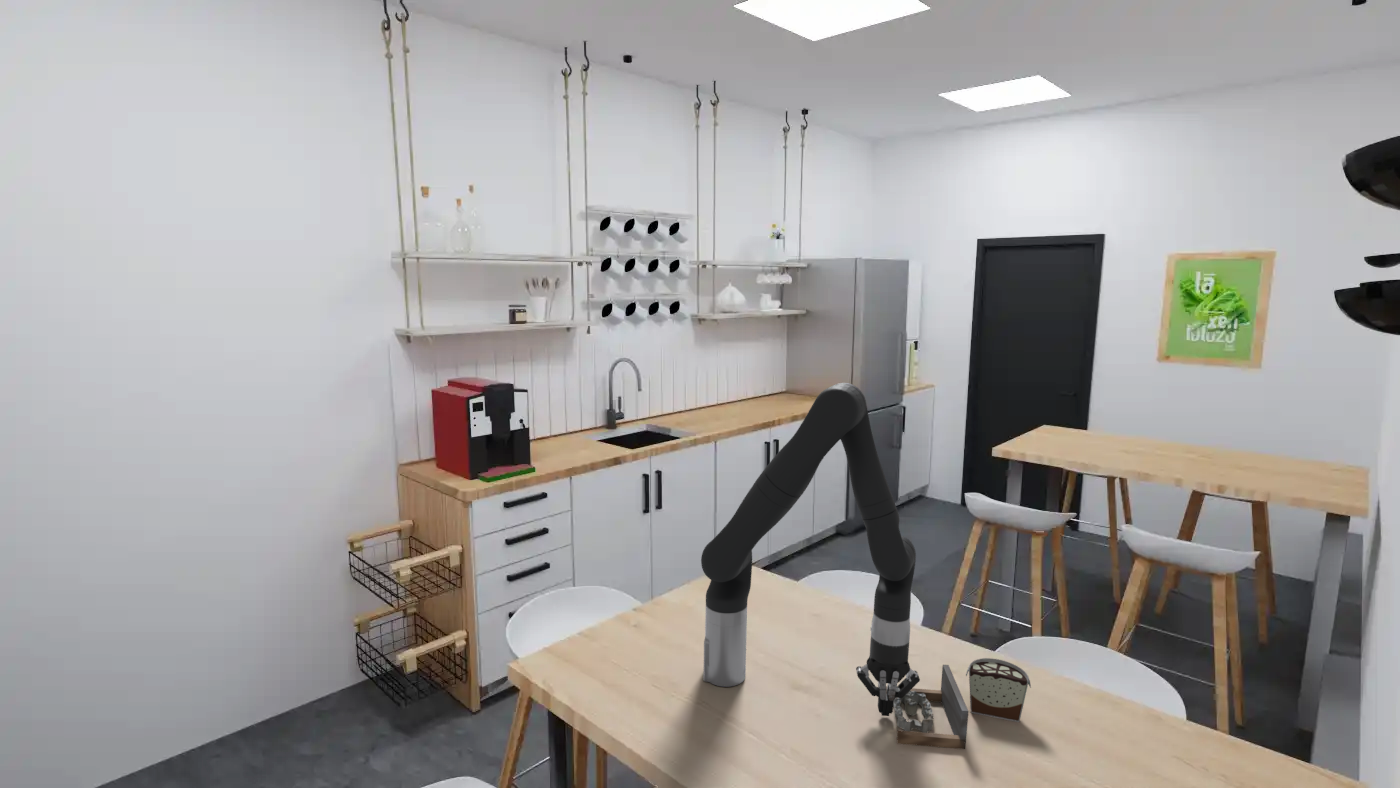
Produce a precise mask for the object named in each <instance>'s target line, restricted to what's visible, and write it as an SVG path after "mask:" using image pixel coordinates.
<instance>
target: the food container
mask: <svg viewBox="0 0 1400 788" xmlns="http://www.w3.org/2000/svg"><path fill="white" fill-rule="evenodd" d="M967 676H969V677H968V678H969V679H968V681H969V704H970V706H969V709H970V710H969V711H970V713H971V714H975V715H981V716H987V717H991V718H995V719H996V718H997V719H1000V720H1005V721H1010V722H1016V723H1020V721H1021V717H1022V713H1023V709H1024V704H1025V699H1026V695H1027V690H1028V687H1029V689H1031V688H1032V687H1031V680H1030V678H1029V675H1028V673H1027V672H1026V671H1025V670H1024V669H1022V668H1021V667H1020V666H1018V665H1016V664H1014V663H1012V662H1010V661H1006V660H1003V659H998V658H993V657H991V658H990V657H983V658H977V659H975V660H972V662H971V663H970V664H969V665H968V667H967V669H966V673H965V677H967Z"/></svg>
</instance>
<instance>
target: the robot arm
mask: <svg viewBox="0 0 1400 788" xmlns="http://www.w3.org/2000/svg"><path fill="white" fill-rule="evenodd" d="M868 411H869V410H868V406H867V400H866V397H865V395H864V393H863V391H862V390H860V388H859V387H858V386H856V385H854V384H852V383H848V382H839V383H836V384H833V385H831V386H829V387H827V388H825V389H823V390H822V391H821V392H820V393H819V394H818V395H817V396H816V398H815V400H814V401H813V403H812V405H811V407H810V409H809V410H808V412H807V414H806V416H805V417H804V419H803V420H802V422H801V424H800V425H799V427H798V429H797V430H796V431H795V433H794V435H793V436H792V437H791V438H790V439H789V440H788V442H786V444H785V445H783V447H782V448H780V450H779V451H778V452H777V453H776V454H775V455H774V457H773V458H772V459H771V461H769V463H768V464H767V465H766V466H765V468H764V469H763V471H761V473H760V474H759V476H758V477H757V479H755V481H754V483H753V485H752V486H751V487H750V488H749V490H748V492H747V493H746V495H745V497H744V498H743V500H741V503H740V505H738V508H737V510H736V511H735V512H734V513H733V515H732V517H731V518H730V520H729V521H728V522H727V524H726V525H724V527H723V528H722V529H721V530H720V531H719V532H718V534H716V536H715V537H713V539H712V540H710V542H708V543H707V544H706V545H705V547H704V548H703V551H702V553H701V557H700V558H701V560H700V562H701V563H700V564H701V565H700V566H701V569H702V571H703V573H704V575H705V576H706V577H707V578H708V579H710V582H709V585H708V587H707V590H706V593H705V627H704V628H705V629H704V630H705V632H704V633H705V634H704V641H703V678H702V679H703V682H708V683H709V684H712V685H715V686H718V687H727V688H728V687H734V686H738V685H740V684H741V683H743V682H744V681H745V679H746V670H747V666H746V665H747V630H748V627H747V626H748V598H749V594H750V591H751V586H752V575H753V574H752V573H753V572H752V571H753V570H752V569H753V549H754V547H756V545H757V544H758V542H760V541H761V539H762V538H763V537H764V536H765V535H767V533H769V532H770V531H771V530H772V529H773V528H774V527H775V526H776V525H777V524H778V523H779V522H781V520H782V519H783V518H784V517H785V516H786V515H787V514H788V512H789V511H790V510H791V509H792V508H793V507H794V506H795V505H796V503H797V501H798V500H799V499H800V498H801V497H802V495H804V493H805V491H806V489H807V488H808V487H809V485H810V483H811V482H812V480H813V478H814V476H815V474H816V472H817V470H818V468H819V465H821V462H822V461H823V459H824V458H825V457H826V455H827V454H828V453H829V452H830V451H831V450H832V448H833V447H835V445H836V444H837V443H838V442H841V443H842V447H843V449H844V451H845V452H844V453H845V456H846V459H847V465H848V470H849V478H850V483H851V489H852V492H853V496H854V499H855V501H856V506H857V509H858V510H859V515H860V516H861V517H860V518H861V519H862V522H863V524H864V526H865V531H866V536H867V541H868V546H869V551H870V555H871V559H872V563H873V566H874V567H875V569H876V571H877V573H878V575H879V578H878V583H877V585H876V587H875V592H874V601H873V614H872V615H873V616H872V620H871V626H870V645H869V656H868V658H867V659H866V664H864V665H863V666H860V665H859V666H856V667H855V670H856V675H857V678H858V679H859V680H860V682H861V683H862V684H863V686H864V687H865V688H866V690H867V691H868V692H869V693H870V695H871V696H873V697H877V709H878V712H879V714H880V713H881V716H883V717H890V714H893V712H894V707H893V701H894V699H895V698H903V697H904V696H905V695H906V694H907V693H908V692H909V691H910V690H911V689H912V688H914V687H915V686H916V685H918V683H919V682H920V680H921V679H920V676H919V673H918V671H917V670H913V669H912V668H911V666H910V663H909V653H910V652H909V651H910V636H911V620H910V619H911V618H910V617H911V604H912V603H911V600H912V597H911V596H912V595H911V593H912V585H913V580H914V575H915V568H916V561H917V560H916V559H917V553H916V549H915V546H914V544H913V543H912V541H911V540H910V539H909V538H907V537H906V536H904V535H902V534H901V531H900V513H899V511H898V507H897V505H896V503H895V500H894V496H893V494H892V492H891V488H890V487H889V483H888V481H887V478H886V476H885V473H884V470H883V467H882V464H881V461H880V457H879V454H878V452H877V448H876V445H875V441H874V440H875V439H874V436H873V433H872V432H873V431H872V426H871V422H870V418H869V417H870V415H869V412H868ZM869 672H870V673H871V675H872V676H873V678H874V679H875V681H876V682H877V684H878V685H877V686H876V685H875V684H874V682H873V680H872V678H870V674H869ZM898 683H899V684H898ZM886 686H887V694H886Z"/></svg>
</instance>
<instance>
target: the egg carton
mask: <svg viewBox="0 0 1400 788" xmlns="http://www.w3.org/2000/svg"><path fill="white" fill-rule="evenodd" d="M901 703H903V704H904V705H905V706H904V711H903V707H901ZM918 705H920V706H921V715H923V716H924V719H922V721H919V720H918V719H915V718H909V719H907V718H905V717H904V712H905V713H906V714H907V716H908V715H909V716H916V715H917V711H918V710H917V709H918ZM893 710H894V716H895V718H897V721H896V722H897V724H896V726H897V728H900V729H902V730H903V731H912V730H914V729H915V730H919V732H924V733H929V732H930V731H932V730H933V726H934V721H933V720H934V711H933V708H932V705H931V703H930V701H928V700H927V699H926V695H925V694H924V693H921V694H918V693H917V692H916V691H913V692H912V691H909V692H908V693H907V694H906V695H905V696H904V697H903V698H895V699H894V701H893Z"/></svg>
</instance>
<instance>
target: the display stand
mask: <svg viewBox="0 0 1400 788" xmlns="http://www.w3.org/2000/svg"><path fill="white" fill-rule="evenodd" d="M941 671H942V672H941V680H940V681H941V682H940V683H941V684H940V689H928V688H927V689H926V688H914V687H913V688H912V689H911V690H910V691H912V692H913V691H916V692H917V693H918V694H921V693H924V694H925V695H926V699H927V700H928V701H929V702H935V703H941V705H942V708H943V710H944V713H945V716H946V718H947V721H948V723H949V725H950V729H951V731H952V734H947V733H934V732H927V733H924V732H921V731H912V730H910V731H905V730H897V731H896V743H897V744H898V745H899V744H900V745H911V746H923V747H935V748H946V749H947V748H948V749H957V750H958V749H959V750H966V748H967V746H966V745H967V735H968V721H969V711H970V710H969V708H968V707H967V705H966V702H965V700H964V697H963V695H962V693H961V690H960V688H959V686H958V684H957V681H956V680H955V677H954V674H953V671H952V669H951V668H950V665H949V664H942V669H941ZM886 694H887V685H886Z"/></svg>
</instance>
